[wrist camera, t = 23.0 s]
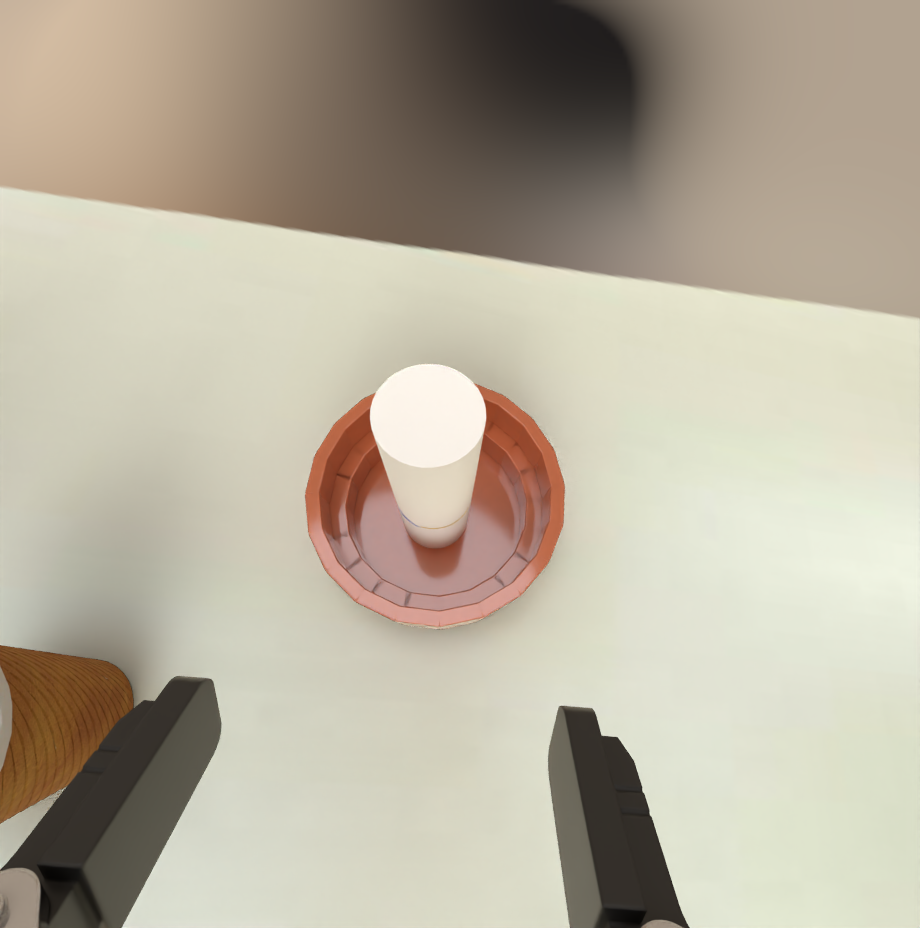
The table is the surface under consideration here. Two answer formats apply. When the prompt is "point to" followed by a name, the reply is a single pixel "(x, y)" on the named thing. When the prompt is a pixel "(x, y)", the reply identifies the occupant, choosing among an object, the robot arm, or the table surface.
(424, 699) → the table surface
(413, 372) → the tube
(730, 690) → the table surface
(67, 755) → the disposable coffee cup
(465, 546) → the bowl
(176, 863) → the table surface
